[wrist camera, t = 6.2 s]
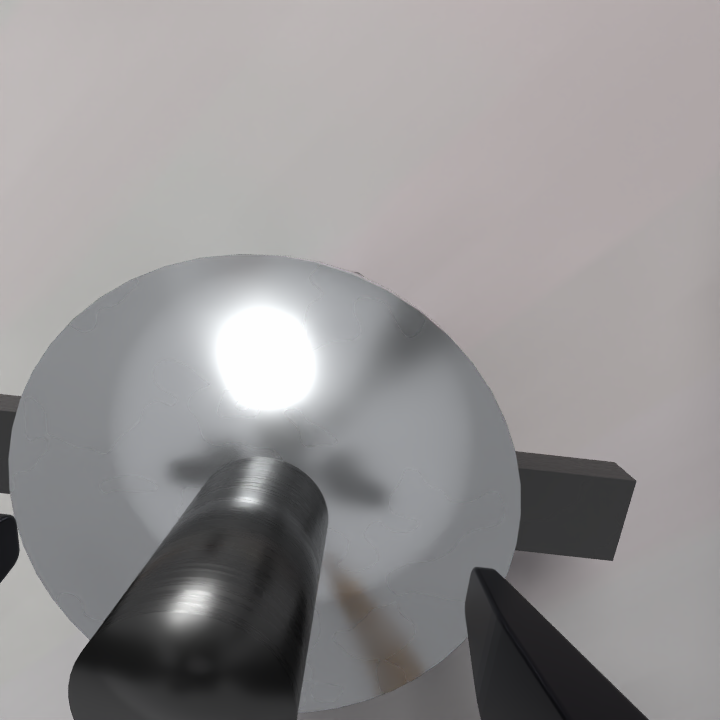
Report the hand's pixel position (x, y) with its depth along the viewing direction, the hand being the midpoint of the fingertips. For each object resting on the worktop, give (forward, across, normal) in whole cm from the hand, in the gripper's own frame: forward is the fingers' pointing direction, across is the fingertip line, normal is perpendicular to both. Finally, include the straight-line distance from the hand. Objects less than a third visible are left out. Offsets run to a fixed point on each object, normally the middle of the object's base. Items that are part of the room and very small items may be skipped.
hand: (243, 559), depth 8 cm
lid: (+2, 0, 0) cm, 2 cm away
